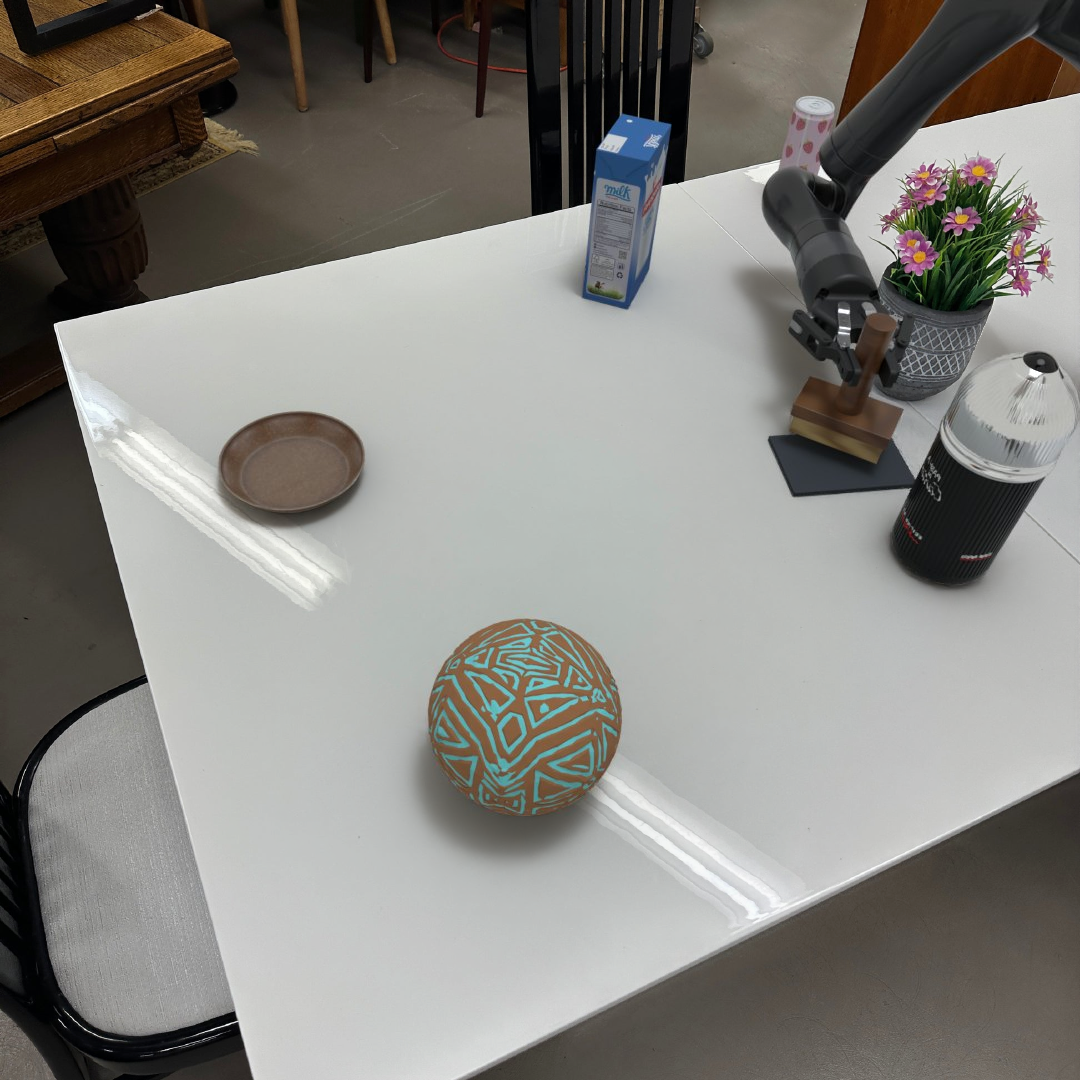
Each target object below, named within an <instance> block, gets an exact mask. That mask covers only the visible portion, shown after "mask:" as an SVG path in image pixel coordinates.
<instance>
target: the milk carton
mask: <svg viewBox="0 0 1080 1080" xmlns="http://www.w3.org/2000/svg"><path fill="white" fill-rule="evenodd" d="M671 131H672V124H671V123H666V122H662V121H657V120H652V119H648V118H643V117H638V116H634V115H629V114H625V113H621V114H620V116H619V117H618V119H617V120H616V121H615V123H614V124H613V126H612V127H611V129H610V130H609V131H608V132H607V134H606V136H605V137H604V138H603V140H602V141H601V143H600V144H599V145H598V146H597V148H596V151H595V152H596V153H595V162H594V172H593V181H592V182H593V183H592V193H591V194H592V195H591V204H590V213H589V225H588V234H587V245H586V255H585V264H584V265H585V266H584V276H583V287H582V299H586V300H589V301H595V302H598V303H601V304H604V305H605V304H606V305H610V306H614V307H617V308H622V309H625V310H629V308H630V307H631V304H632V303H633V301H634V299H635V297H636V295H637V293H638V291H639V290H640V288H641V286H642V284H643V282H644V280H645V278H646V277H647V275H648V273H649V271H650V267H651V260H652V253H653V248H654V247H653V246H654V240H655V234H656V227H657V221H658V214H659V209H660V201H661V194H662V187H663V183H664V182H663V181H664V176H665V169H666V162H667V155H668V149H669V142H670V136H671Z"/></svg>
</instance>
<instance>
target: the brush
mask: <svg viewBox="0 0 1080 1080" xmlns="http://www.w3.org/2000/svg"><path fill="white" fill-rule="evenodd" d="M889 315H890V314H889ZM889 315H887V314H883V313H872V314H870V315H868V316H867V318H866V321H865V323H864V326H863V329H862V331H861V334H860V337H859V340H858V342H857V344H855V348H854V351H855V354H856V356H857V359H858V361H859V364H860V366H861V369H862V374H861V377H860V380H859V382H858V385H857V387H849V386H848V384H847V382H844V381H843V380H842V382H841V385H838V384H835V383H832V382H829V381H826V380H825V379H824V380H823V379H821V378H818V377H816V376H813V375H809V376H808V378H806V382H805V383H804V384H803V386H802V388H801V390H800V391H799V393H798V395H797V396H796V398H795V401H793V404H792V407H791V410H790V413H789V415H790V416H792V417H791V420H790V423H789V425H788V428H787V432H790V433H793V434H798V435H801V436H804V437H806V438H809V439H812V440H814V441H817V442H820V443H822V444H825V445H827V446H830V447H833V448H835V449H838V450H841V451H843V452H846V453H849V454H851V455H854V456H856V457H859V458H862V459H864V460H867V461H870V462H872V463H875V464H877V462H878V459H879V457H880V455H881V453H882V450H886V449H887V446H888V444H889V442H890V440H891V438H892V437H893V435H894V433H895V431H896V428H897V426H898V424H899V421H900V420H901V417H902V415H903V412H904V410H905V409H904V408H902V407H899V406H896V405H894V404H892V403H891V404H890V403H887V402H885V401H882V400H879V399H877V398H874V397H871V396H870V394H871V392H872V390H873V387H874V384H875V382H876V379H877V377H878V372H879V369H880V367H881V364H882V362H883V359H884V357H885V355H886V352H887V350H888V347H889V345H890V342H891V341H892V340H893V338H892V337H893V335H894V332H895V330H896V327H897V322H896V321H895V319H894V318H892V317H891V316H889Z"/></svg>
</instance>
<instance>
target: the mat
mask: <svg viewBox="0 0 1080 1080" xmlns="http://www.w3.org/2000/svg"><path fill="white" fill-rule="evenodd" d="M767 441H768V443H769V445H770V448H771V450H772V452H773V454H774V457H775V459H776V461H777V464H778V466H779V468H780V470H781V472H782V474H783V477H784V479H785V481H786V483H787V486H788V488H789V491H790V493H791V495H792V497H794V498H795V497H808V496H821V495H832V494H845V493H846V494H847V493H857V492H858V493H860V492H871V491H884V490H885V491H886V490H897V489H898V490H899V489H909V488H910V489H911V488H912V486H913V484H914V481H915V479H916V477H915V476H914V474H913V473H912V471H911V470H910V467H909V465H908V464H907V462H906V461H905V459H904V457H903V455H902V453H901V452H900V450H899V448H898V446H897V445H896V443H895V441H894V439H893V438H892V437H891V440H890V442H889V444H888V446H887V449H886V450H882V453H881V455H880V457H879V459H878V462H877V464H875V463H872V462H870V461H867V460H864V459H862V458H859V457H856V456H854V455H851V454H849V453H846V452H843V451H841V450H838V449H835V448H833V447H830V446H827V445H825V444H822V443H820V442H817V441H814V440H812V439H809V438H806V437H804V436H801V435H798V434H796V433H793V434H792V433H791V434H777V435H768V438H767Z"/></svg>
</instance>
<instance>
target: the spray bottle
mask: <svg viewBox="0 0 1080 1080" xmlns="http://www.w3.org/2000/svg"><path fill="white" fill-rule="evenodd" d="M1079 421H1080V397H1079V394H1078V391H1077V388H1076V386H1075V384H1074V381H1073V380H1072V378H1071V376H1070V375H1069V373H1068V372H1067V371H1066V370H1065V369H1064V367H1063V366H1062V365H1061V364H1060V363H1059V362H1058V360H1056V358H1055V357H1054V355H1052V354H1050V353H1048V352H1046V351H1042V350H1034V351H1020V352H1019V351H1018V352H1010V353H1006V354H1002V355H998V356H995V357H993V358H991V359H989V360H986V361H984V362H982V363H980V364H979V365H978V366H977V367H975V368H973V369H972V371H970V372H969V373H968V374H967V375H965V377H964V378H963V380H962V381H961V383H960V385H959V387H958V388H957V391H956V393H955V395H954V396H953V399H952V401H951V403H950V405H949V407H948V409H947V410H946V412H945V414H944V415H943V416H942V419H941V421H940V423H939V427H938V431H937V434H936V436H935V437H934V439H933V442H932V444H931V446H930V448H929V450H928V452H927V454H926V457H925V459H924V461H923V463H922V465H921V467H920V468H919V471H918V473H917V475H916V477H915V481H914V484H913V486H912V488H910V490H909V492H908V494H907V496H906V498H905V501H904V503H903V505H902V506H901V508H900V511H899V512H898V515H897V517H896V519H895V521H894V524H893V526H892V530H891V535H890V536H891V543H892V547H893V550H894V552H895V554H896V556H897V557H898V559H899V560H900V562H902V564H903V565H904V566H905V567H907V568H908V569H909V570H910V571H911V572H913V573H914V574H916V575H918V576H920V577H921V578H923V579H925V580H928V581H930V582H934V583H937V584H941V585H949V586H959V585H960V586H961V585H965V584H969V583H972V582H975V581H977V580H978V579H980V578H981V577H983V576H984V575H985V574H986V573H987V572H988V571H989V569H990V568H991V566H992V564H993V563H994V561H995V560H996V558H997V557H998V555H999V553H1000V552H1001V550H1002V548H1003V546H1004V545H1005V543H1007V540H1008V538H1009V537H1010V535H1011V533H1012V532H1013V530H1014V529H1015V527H1016V525H1017V524H1018V522H1019V521H1020V519H1021V518H1022V516H1023V515H1024V512H1025V511H1026V509H1027V507H1028V506H1029V504H1030V503H1031V501H1032V500H1033V498H1034V496H1035V495H1036V493H1037V491H1038V490H1039V488H1040V487H1041V485H1042V483H1043V482H1044V480H1045V479H1046V477H1047V476H1049V474H1050V473H1051V472H1052V471H1053V470H1054V468H1055V467H1056V464H1057V461H1059V458H1060V456H1061V454H1062V452H1063V450H1064V449H1065V448H1066V446H1067V445H1068V443H1069V441H1070V439H1071V438H1072V436H1073V435H1074V433H1075V431H1076V429H1077V427H1078V424H1079Z"/></svg>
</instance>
